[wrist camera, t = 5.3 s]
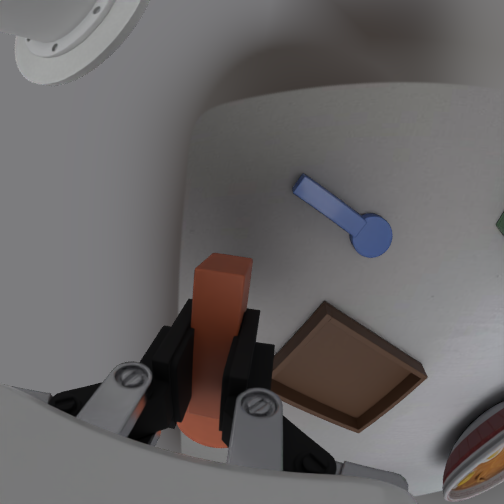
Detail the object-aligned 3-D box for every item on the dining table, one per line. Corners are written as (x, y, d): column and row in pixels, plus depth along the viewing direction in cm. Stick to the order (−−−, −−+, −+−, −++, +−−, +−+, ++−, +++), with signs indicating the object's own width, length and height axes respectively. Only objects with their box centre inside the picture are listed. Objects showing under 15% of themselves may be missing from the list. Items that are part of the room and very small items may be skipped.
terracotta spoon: (188, 248, 12) (164, 262, 9) (279, 261, 12) (278, 280, 9) (181, 424, 14) (166, 457, 11) (248, 437, 13) (243, 473, 11)
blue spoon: (285, 198, 25) (285, 203, 22) (310, 162, 23) (312, 164, 21) (371, 260, 25) (379, 272, 23) (395, 229, 24) (406, 237, 22)
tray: (257, 373, 31) (255, 388, 29) (324, 300, 27) (327, 313, 25) (356, 419, 32) (358, 433, 30) (421, 363, 29) (428, 377, 26)
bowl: (408, 449, 34) (420, 498, 25) (522, 352, 27) (555, 394, 18) (458, 469, 37) (469, 504, 28) (543, 397, 30) (564, 429, 20)
